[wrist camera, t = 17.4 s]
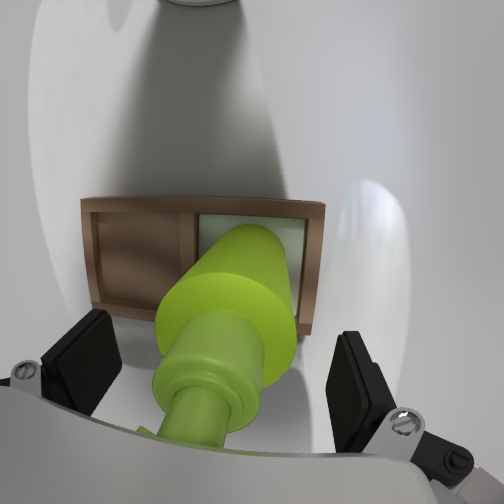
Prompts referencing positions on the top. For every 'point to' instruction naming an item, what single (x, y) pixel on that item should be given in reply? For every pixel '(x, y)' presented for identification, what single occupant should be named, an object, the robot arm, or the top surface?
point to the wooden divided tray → (189, 246)
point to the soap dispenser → (223, 337)
